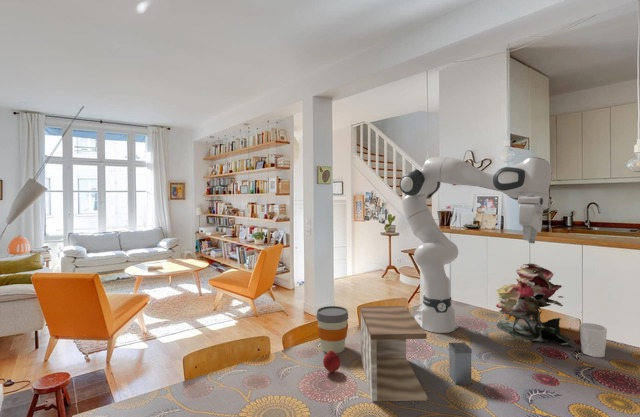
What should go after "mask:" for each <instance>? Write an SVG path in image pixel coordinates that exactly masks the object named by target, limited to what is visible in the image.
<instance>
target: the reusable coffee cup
mask: <svg viewBox="0 0 640 417" xmlns="http://www.w3.org/2000/svg"><path fill="white" fill-rule="evenodd" d="M316 320H317V324H316V325H317V326H316V327H317V332H318V333H317V334H318V338H319V340H320V348H321V351H323V352H324V353H326V354H327V353H328V352H330V349H332V350H333V351H334V352H335V353H337V354H340V353H342V352H343V351H345V345H346V339H347V335H348V327H349V324H348V320H349V312H348V309H347V308H346V307H344V306H339V305H327V306H323V307H319V308H318V309H317V310H316Z"/></svg>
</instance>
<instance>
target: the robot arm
mask: <svg viewBox="0 0 640 417" xmlns="http://www.w3.org/2000/svg"><path fill="white" fill-rule="evenodd" d="M551 180H552V165H551V163H550V162H549V161H548V160H546V158H545V159H544V158H541V157H535V156H534V157H533V156H531V157H528V158H525V159H524V160H523V161H521V162H520V163H517V164H513V165H510V166H504V167H501V168H499V169H497V171H496V172H495V173H488V172H486V171H483V170H481V169H478V168H477V167H474V165H472V164H470V163H468V162H466V161H464V160H462V159H458V158H455V157H449V156H434V157H433V156H432V157H429V158H427V159H426V160H425V162H423V166H422V169H421V170H419V169H415V170H412V171H410V172H407V173H406V174H404V175H402V176H401V178H400V179H399V189H400V191H401V192H402V194H404V195H405V196H404V197H403V198H402V200H401V205H402V209H403V212H404V215H405V218H406V220H407V222H408V224H409V226H410V229H411V231H412V233H413V235H414V237H416V238H418V239H419V240H420V241H421V242H422V244H420V245H419V246H418V247H416V248H415V249H414V253H413V256H414V257H413V258H414V261H415V262H416V264H417V265H418V266H419V267H420V269H421V272H422V276H423V286H424V288H423V289H424V291H423V292H424V294H423V297H422V304H421V305H420V306H419V307H418V309H416V310H415V313H416V314H415V315H413V317H414V318H415V320H416V321H417V322H418V324H419V325H420V326H421V327H422V329H423V330H424V331H426V332H427V331H428V332H431V333H436V334H437V333H438V334H447V333H451V332H452V333H453V332H454V331H455V330H456V329H459V327H460V326H459V324H458V323H456V312H455V309H454V307H452V301H453V300H452V297H451V279H450V278H449V277H448V276H447V274H446V271H445V265H448V264H451V263H452V262H453V261H455V260H456V259H457V257H458V255H459V249H458V246H457V245H456V244H455V243H454V242H453V241H451V240H450V239H449V238H448V237H447V236H446V235H445V233H444V232H443V231H442V230H441V229H440V227H439V225H437V222H436V220H435V219H434V217H433V214H432V213H431V210H430V209H429V207H428V204H427V201H426V200H427V199H431V198H432V197H433V195H434V194H436V193H437V192H438V190H440V187H441V183H443V184H449V185H458V186H459V185H460V186H467V187H468V186H469V187H479V188H483V189H487V190H491V191H496V192H497V191H498V192H501V193H503V194H504V195H506V196H508V197H509V198H511V199H513V200H516V201H517V203H518V224H519V225H520V226H522V239H523V241H527V242H528V243H529V244H532V245H533V244H535V243H536V238H537V235H538V233H541V231H542V228H543V226H542V225H543V213H544V210H548V208H549V202H550V201H549V200H550V192H549V190H550V186H551V182H552V181H551Z"/></svg>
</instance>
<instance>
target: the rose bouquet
mask: <svg viewBox="0 0 640 417" xmlns="http://www.w3.org/2000/svg"><path fill="white" fill-rule="evenodd" d="M515 272H516V274H517V275H518V277H519V278H516V281H517V283H516V284H513V283H510V284H508V283H507V284H503V285H502V286H501V287H500V288H498V289H497V290H496V293H497V294H496V296H497V298H496V299H497V300H498V303H496V305H495V307H496V308H497V309H500V310H498V313H500V314H502V315H508V316H507V317H505V319H504V320H500V321H498V322H497V324H496V327H497V328H498V329H500V330H502V331H504V332H506V333H507V334H509V335H510V336H511V338H515V337H517V338H519V339H521V340H522V341H523V342H525V343H530V344H532V342H543V343H550V340H547V339H545V338H544V337H542V336H543V333H544V334H546V335H548V336H552V337H557V338H558V339H560V340H562V341H564V342H563V343H561V345H564V346H570V347H572V348H574V346H575V344H574V343H573V342H570V341H571V340H570V338H568V337H566V336H564V335H563V334H561V328H560V320H561V318H560V317H558V318H556V317H555V318H551V319H548V320H547V321H544V322H542V321H541V314H542V311H543V310H542V309H541V308H546V307H551V306H552V304H553V305H554V306H555V305H557V306H559V307H563V306H564V305H563V304H562V303H561V302H559V301H558V300H554V299H552V298H551V297H553V295H555V293H556V292H557V291H558V290H559V289H561V288H562V287H563V286H562V284H554V283H552V282H551V280H552V278H553V277H554V276H555V274H554V272H552V271H551V270H549V269H547V268H544V267H543V266H540V264H536V263H531V262H529V263H527V264H525V263H523V264H522V265H520V268H519V269H516V271H515ZM557 298H559V299H560V298H561V299H562V298H564V296H562V295H559V296H557ZM581 314H582V311H581ZM510 317H513V318H515V320H514V322H512V321H509V320H510V319H509V318H510ZM519 320H523V321H524V322H525V323H522V322H519ZM528 331H529V332H530V331H531V332H530V333H529V332H528ZM526 339H528V340H526ZM529 340H530V341H529Z"/></svg>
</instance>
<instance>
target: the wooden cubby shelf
mask: <svg viewBox="0 0 640 417" xmlns="http://www.w3.org/2000/svg"><path fill="white" fill-rule="evenodd" d="M427 337H428V336H427V331H426V330H424V329H422V327H421V326H420V325H419V324H418V322H417V321H416V320H415V318H414V315H412V313H411V312H410V311H409V310H408V309H407V307H406V306H405V305H391V306H390V305H386V306H385V305H384V306H383V305H381V306H380V305H379V306H376V305H375V306H360V358H361V364H362V367H363V372H364V376H365V380H366V384H367V387H368V391H369V395H370V400H371V402H407V401H408V402H410V401H411V402H412V401H415V402H416V401H417V402H418V401H421V402H423V401H428V395H427V394H426V392H425V390H424V388H423V386H422V385H421V383H420V381H419V380H418V377H417V375H416V374H415V372H414V369H413V368H412V366H411V365H410V363H409V361H408V359H407V340H427Z"/></svg>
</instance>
